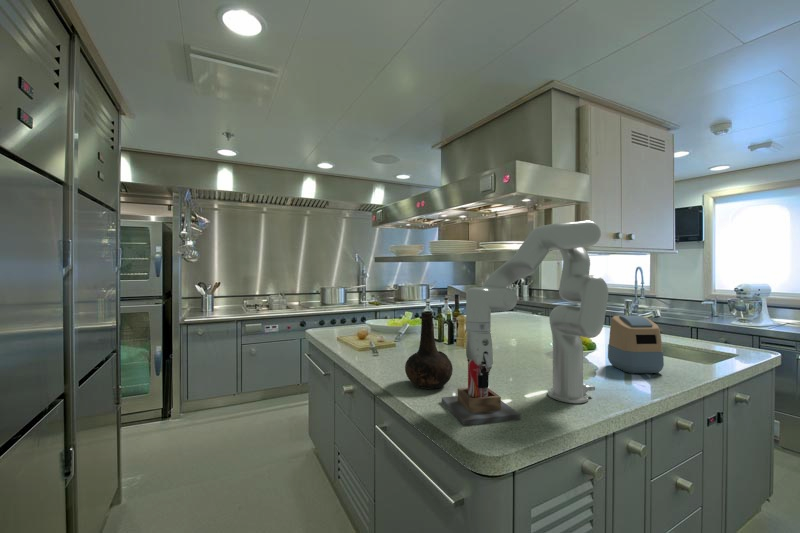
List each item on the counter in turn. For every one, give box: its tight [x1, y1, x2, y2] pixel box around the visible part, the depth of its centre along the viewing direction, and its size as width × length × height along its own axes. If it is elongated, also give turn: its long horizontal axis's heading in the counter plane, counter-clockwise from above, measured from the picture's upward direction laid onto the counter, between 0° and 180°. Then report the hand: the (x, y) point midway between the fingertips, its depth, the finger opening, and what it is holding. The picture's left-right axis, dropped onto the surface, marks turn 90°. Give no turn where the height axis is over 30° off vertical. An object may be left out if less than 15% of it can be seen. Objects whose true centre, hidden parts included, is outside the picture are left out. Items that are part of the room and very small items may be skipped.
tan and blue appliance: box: [607, 315, 665, 374], centre depth 153 cm, size 17×17×23 cm
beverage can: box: [467, 358, 489, 398], centre depth 110 cm, size 6×6×12 cm
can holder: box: [441, 387, 521, 426], centre depth 110 cm, size 18×18×6 cm
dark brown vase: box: [404, 311, 454, 390], centre depth 133 cm, size 18×18×28 cm
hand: (478, 383), depth 110 cm, fingers closed on beverage can, 6 cm apart
